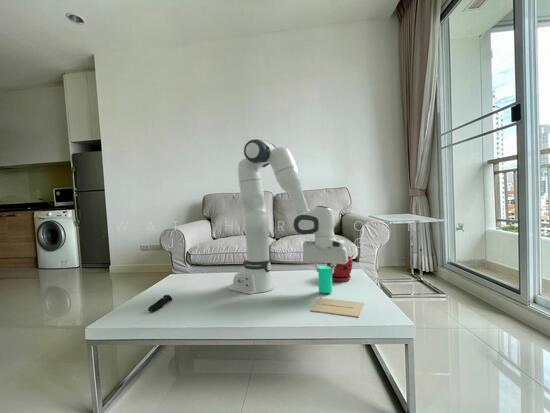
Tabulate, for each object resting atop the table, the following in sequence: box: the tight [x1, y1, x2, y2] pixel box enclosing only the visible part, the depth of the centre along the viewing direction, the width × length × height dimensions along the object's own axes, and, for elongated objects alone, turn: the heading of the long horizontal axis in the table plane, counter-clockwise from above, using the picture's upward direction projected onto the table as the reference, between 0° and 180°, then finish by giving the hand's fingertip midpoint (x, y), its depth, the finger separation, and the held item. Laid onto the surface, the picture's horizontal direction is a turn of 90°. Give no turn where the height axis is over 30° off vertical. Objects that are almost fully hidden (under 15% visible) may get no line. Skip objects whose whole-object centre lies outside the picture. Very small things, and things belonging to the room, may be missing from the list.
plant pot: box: [326, 255, 353, 283], centre depth 147 cm, size 13×13×12 cm
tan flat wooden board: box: [309, 297, 365, 318], centre depth 110 cm, size 18×14×1 cm
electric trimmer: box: [147, 294, 173, 312], centre depth 119 cm, size 4×16×3 cm, turn 174°
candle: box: [317, 265, 333, 294], centre depth 127 cm, size 6×6×12 cm
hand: (325, 272), depth 127 cm, fingers closed on candle, 5 cm apart
